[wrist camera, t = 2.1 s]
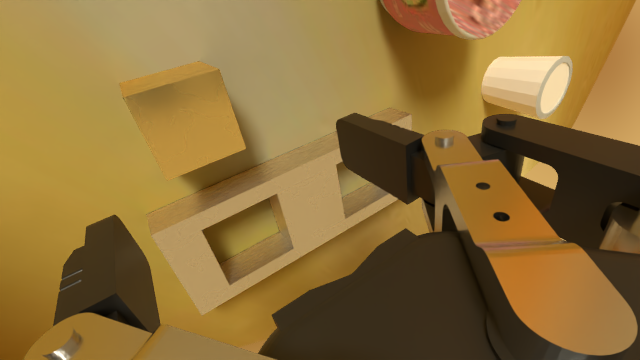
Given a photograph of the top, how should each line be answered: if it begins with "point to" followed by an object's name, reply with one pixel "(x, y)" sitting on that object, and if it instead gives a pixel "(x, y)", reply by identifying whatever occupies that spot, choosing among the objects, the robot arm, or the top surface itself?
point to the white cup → (528, 83)
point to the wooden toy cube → (184, 117)
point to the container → (452, 16)
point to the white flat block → (289, 210)
